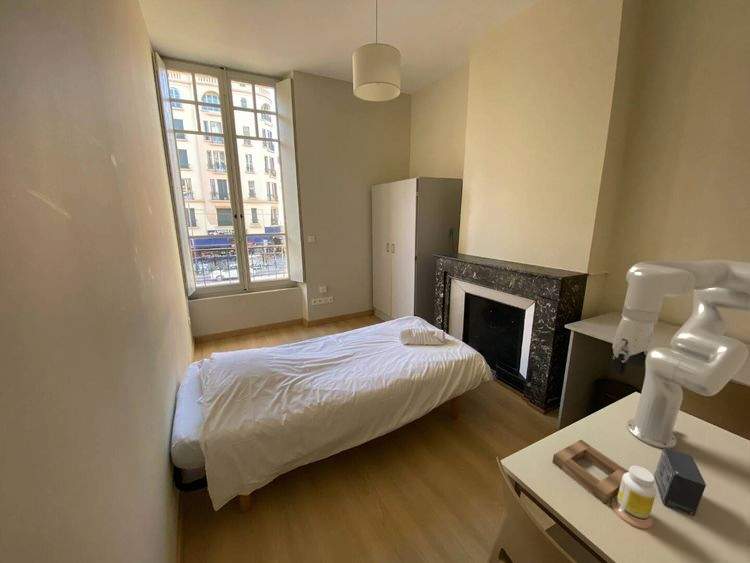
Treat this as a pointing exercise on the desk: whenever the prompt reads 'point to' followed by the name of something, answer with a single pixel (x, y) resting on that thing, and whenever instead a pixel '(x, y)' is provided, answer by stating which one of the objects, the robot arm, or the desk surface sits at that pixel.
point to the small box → (679, 481)
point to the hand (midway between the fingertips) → (626, 368)
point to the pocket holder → (596, 487)
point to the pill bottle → (637, 493)
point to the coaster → (629, 519)
